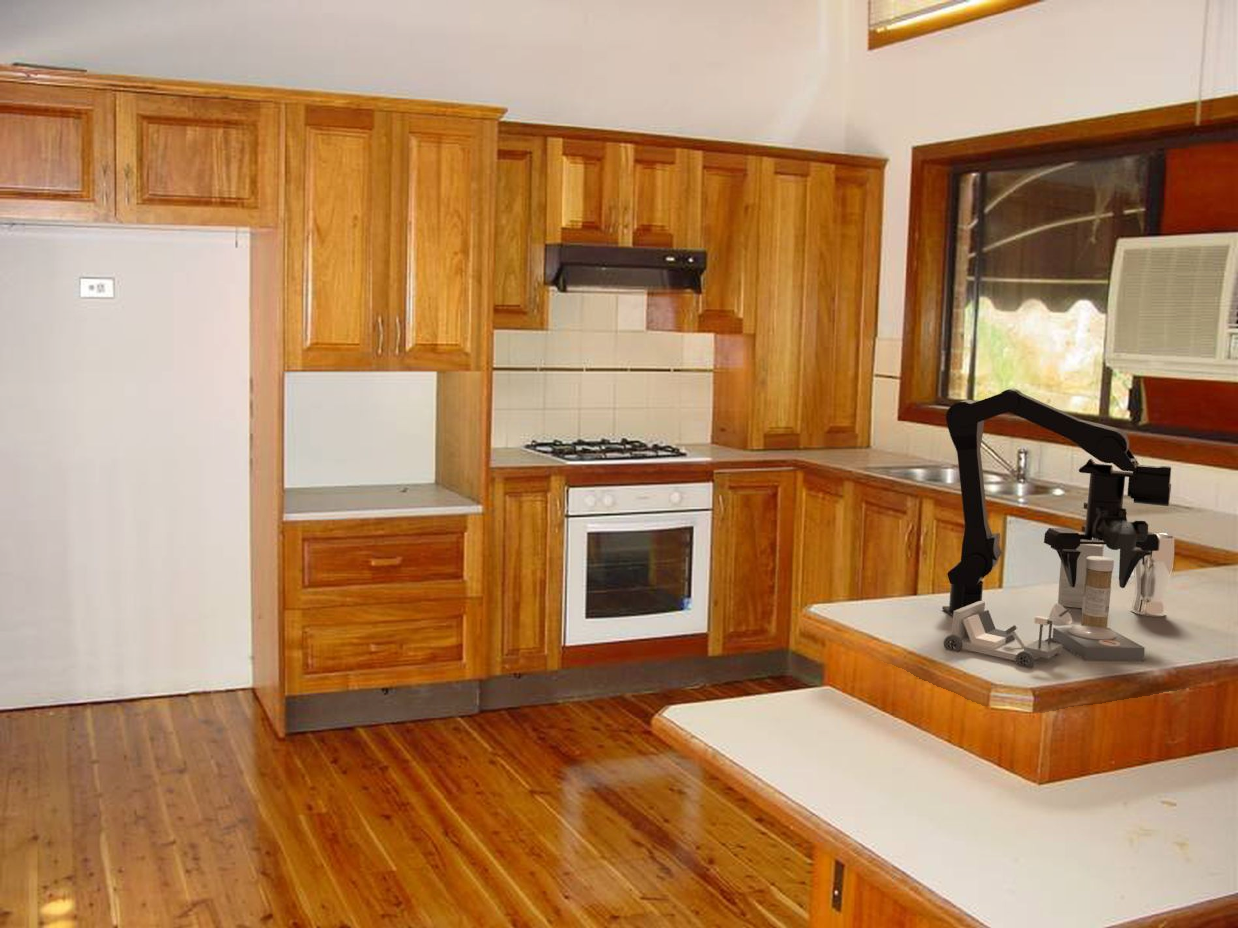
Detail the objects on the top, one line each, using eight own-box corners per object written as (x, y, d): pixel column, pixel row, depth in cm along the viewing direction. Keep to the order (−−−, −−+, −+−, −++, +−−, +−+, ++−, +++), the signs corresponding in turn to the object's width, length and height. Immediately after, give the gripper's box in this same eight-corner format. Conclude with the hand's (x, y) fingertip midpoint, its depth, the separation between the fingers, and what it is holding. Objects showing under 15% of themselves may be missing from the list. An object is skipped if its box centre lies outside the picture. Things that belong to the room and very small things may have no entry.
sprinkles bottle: (1088, 627, 225) (1095, 554, 223) (1112, 633, 222) (1119, 559, 220) (1074, 631, 222) (1081, 556, 220) (1098, 637, 219) (1105, 561, 217)
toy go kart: (1081, 602, 204) (1054, 615, 195) (1076, 660, 205) (1048, 675, 197) (977, 582, 215) (947, 593, 207) (972, 638, 217) (942, 651, 208)
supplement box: (1100, 603, 244) (1105, 539, 243) (1097, 611, 238) (1102, 545, 236) (1060, 597, 247) (1065, 535, 246) (1056, 605, 241) (1061, 541, 239)
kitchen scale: (1052, 639, 216) (1053, 625, 216) (1107, 640, 217) (1108, 625, 217) (1085, 660, 204) (1086, 644, 204) (1143, 660, 205) (1144, 645, 205)
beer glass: (1128, 614, 236) (1135, 536, 234) (1128, 606, 242) (1135, 530, 240) (1168, 619, 233) (1176, 540, 231) (1167, 610, 240) (1175, 534, 238)
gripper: (1076, 507, 210) (1067, 598, 212) (1181, 509, 212) (1172, 599, 214) (1046, 496, 221) (1039, 582, 223) (1146, 498, 223) (1138, 583, 225)
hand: (1097, 587), depth 221 cm, fingers open, 9 cm apart
